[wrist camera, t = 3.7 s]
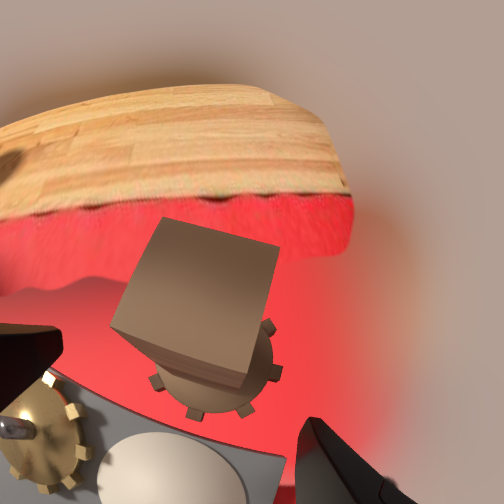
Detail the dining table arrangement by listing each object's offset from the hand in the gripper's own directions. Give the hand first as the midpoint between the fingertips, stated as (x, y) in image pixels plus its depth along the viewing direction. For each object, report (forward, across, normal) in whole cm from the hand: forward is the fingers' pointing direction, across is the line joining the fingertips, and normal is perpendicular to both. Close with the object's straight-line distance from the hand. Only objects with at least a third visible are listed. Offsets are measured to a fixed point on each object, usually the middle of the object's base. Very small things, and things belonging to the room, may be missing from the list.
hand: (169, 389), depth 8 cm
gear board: (0, -5, -16) cm, 16 cm away
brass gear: (+1, -11, -12) cm, 16 cm away
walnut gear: (+10, 0, -6) cm, 12 cm away
